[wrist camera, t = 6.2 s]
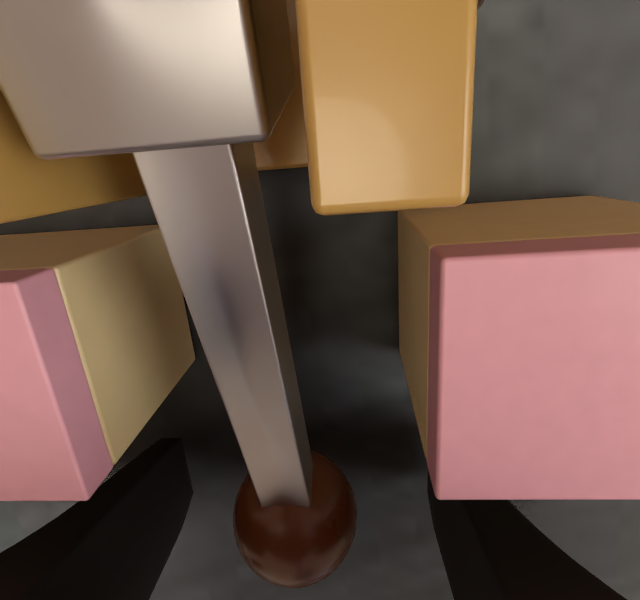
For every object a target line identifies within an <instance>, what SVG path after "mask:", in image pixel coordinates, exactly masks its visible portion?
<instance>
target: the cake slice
mask: <svg viewBox="0 0 640 600" xmlns="http://www.w3.org/2000/svg"><path fill="white" fill-rule="evenodd" d="M398 287H399V352H400V356H401V360H402V364H403V368H404V372H405V376H406V381H407V385H408V389H409V393H410V397H411V401H412V405H413V409H414V413H415V417H416V421H417V425H418V429H419V433H420V437H421V442H422V446H423V450H424V454H425V458H426V460H427V466H428V470H429V474H430V478H431V482H432V486H433V490H434V494H435V496H436V498H437V499H439V500H577V499H640V203H635V202H629V201H623V200H617V199H611V198H605V197H599V196H593V195H590V196H576V197H561V198H546V199H531V200H516V201H501V202H486V203H471V204H461V205H459V206H457V207H446V208H431V209H416V210H401V211H398Z"/></svg>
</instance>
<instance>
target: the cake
mask: <svg viewBox="0 0 640 600" xmlns="http://www.w3.org/2000/svg"><path fill="white" fill-rule="evenodd" d="M194 360H195V354H194V349H193V344H192V339H191V334H190V328H189V323H188V318H187V313H186V308H185V303H184V298H183V293H182V289H181V286H180V283H179V281H178V278H177V275H176V272H175V270H174V267H173V264H172V261H171V259H170V256H169V253H168V250H167V248H166V245H165V242H164V240H163V237H162V234H161V231H160V229H159V226H158V225H145V226H131V227H116V228H101V229H86V230H71V231H56V232H41V233H27V234H12V235H0V501H86V500H89V499H90V497H91V496H92V495H93V494H94V492H95V491H96V490H97V488H98V487H99V486H100V484H101V483H102V482H103V480H104V479H105V478H106V476H107V475H108V474H109V473H110V471H111V470H112V468H113V465H114V464H116V463H117V461H118V460H119V459H120V457H121V456H122V455H123V453H124V452H125V451H126V450H127V448H128V447H129V446H130V444H131V443H132V442H133V440H134V439H135V438H136V436H137V435H138V434H139V433H140V431H141V430H142V429H143V427H144V426H145V425H146V423H147V422H148V421H149V419H150V418H151V417H152V415H153V414H154V413H155V412H156V410H157V409H158V408H159V406H160V405H161V404H162V402H163V401H164V400H165V398H166V397H167V396H168V395H169V393H170V392H171V391H172V389H173V388H174V387H175V385H176V384H177V383H178V381H179V380H180V379H181V378H182V376H183V375H184V374H185V372H186V371H187V370H188V368H189V367H190V366H191V364H192V363H193V362H194Z"/></svg>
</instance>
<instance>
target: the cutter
mask: <svg viewBox="0 0 640 600" xmlns="http://www.w3.org/2000/svg"><path fill="white" fill-rule="evenodd" d="M294 87H295V76H294V67H293V58H292V50H291V41H290V33H289V24H288V16H287V7H286V0H0V90H1V92H2V94H3V96H4V98H5V100H6V102H7V103H8V105H9V107H10V109H11V111H12V113H13V115H14V117H15V119H16V121H17V123H18V125H19V127H20V129H21V131H22V133H23V135H24V137H25V139H26V141H27V143H28V145H29V147H30V149H31V151H32V152H33V154H34V155H35V156H36V157H37V158H40V159H46V160H52V159H64V158H76V157H87V156H99V155H111V154H123V153H132V155H133V157H134V160H135V163H136V166H137V168H138V171H139V174H140V177H141V179H142V182H143V185H144V188H145V190H146V193H147V196H148V199H149V201H150V204H151V207H152V209H153V212H154V215H155V218H156V220H157V223H158V226H159V229H160V231H161V234H162V237H163V240H164V242H165V245H166V248H167V250H168V253H169V256H170V259H171V261H172V264H173V267H174V270H175V272H176V275H177V278H178V281H179V283H180V286H181V289H182V291H183V294H184V297H185V300H186V302H187V305H188V308H189V311H190V313H191V316H192V319H193V322H194V324H195V327H196V330H197V333H198V335H199V338H200V341H201V343H202V346H203V349H204V352H205V354H206V357H207V360H208V363H209V365H210V368H211V371H212V374H213V376H214V379H215V382H216V384H217V387H218V390H219V393H220V395H221V398H222V401H223V404H224V406H225V409H226V412H227V415H228V417H229V420H230V423H231V426H232V428H233V431H234V434H235V436H236V439H237V442H238V445H239V447H240V450H241V453H242V456H243V458H244V461H245V464H246V467H247V469H248V472H249V474H248V475H247V476H246V478H245V479H244V481H243V483H242V485H241V487H240V489H239V491H238V494H237V497H236V501H235V505H234V512H233V528H234V535H235V539H236V543H237V546H238V548H239V551H240V553H241V555H242V557H243V559H244V560H245V562H246V563H247V565H248V566H249V567H250V568H251V569H252V570H253V572H255V573H256V574H257V575H258V576H259V577H261V578H262V579H264V580H265V581H267V582H269V583H271V584H274V585H277V586H280V587H285V588H301V587H307V586H310V585H312V584H315V583H318V582H320V581H321V580H323V579H325V578H326V577H328V576H329V575H330V574H331V573H332V572H333V571H335V570H336V569H337V567H338V566H339V565H340V564H341V563H342V561H343V560H344V558H345V557H346V555H347V553H348V551H349V549H350V547H351V544H352V542H353V538H354V535H355V530H356V520H357V511H356V503H355V498H354V494H353V491H352V488H351V486H350V484H349V482H348V480H347V478H346V476H345V475H344V474H343V472H342V471H341V470H340V468H339V467H338V466H337V465H336V464H335V463H334V462H333V461H331V460H330V459H329V458H327V457H325V456H324V455H322V454H320V453H318V452H315V451H312V450H310V447H309V441H308V436H307V431H306V425H305V420H304V415H303V409H302V404H301V399H300V393H299V388H298V383H297V377H296V372H295V367H294V361H293V356H292V351H291V345H290V340H289V335H288V329H287V324H286V319H285V313H284V308H283V303H282V298H281V292H280V287H279V282H278V276H277V271H276V266H275V260H274V255H273V250H272V244H271V239H270V234H269V228H268V223H267V218H266V212H265V207H264V202H263V196H262V191H261V186H260V180H259V175H258V170H257V164H256V159H255V154H254V148H253V143H252V142H263V141H265V140H266V139H268V138H270V136H271V134H272V132H273V130H274V128H275V126H276V124H277V122H278V120H279V118H280V116H281V114H282V112H283V110H284V108H285V106H286V104H287V102H288V100H289V98H290V96H291V94H292V92H293V90H294Z"/></svg>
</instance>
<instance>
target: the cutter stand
mask: <svg viewBox="0 0 640 600" xmlns="http://www.w3.org/2000/svg"><path fill="white" fill-rule="evenodd" d="M483 2H484V0H286V7H287V16H288V24H289V33H290V41H291V50H292V58H293V67H294V76H295V87H294V90H293V92H292V94H291V96H290V98H289V100H288V102H287V104H286V106H285V108H284V110H283V112H282V114H281V116H280V118H279V120H278V122H277V124H276V126H275V128H274V130H273V132H272V134H271V136H270V138H268V139H266V140H265V141H263V142H252V143H253V148H254V154H255V159H256V164H257V170H258V171H261V170H274V169H286V168H299V167H308V171H309V183H310V196H311V205H312V207H313V209H314V211H315V213H318V214H321V215H324V216H326V215H341V214H356V213H371V212H386V211H401V210H416V209H431V208H446V207H457V206H459V205H461V204H463V203H465V202H466V199H467V197H468V195H469V187H470V164H471V141H472V118H473V96H474V73H475V50H476V27H477V10H478V9H479V8H480V7H481V5H482V4H483ZM145 195H147V193H146V190H145V188H144V185H143V182H142V179H141V177H140V174H139V171H138V168H137V166H136V163H135V160H134V157H133V155H132V153H123V154H111V155H99V156H87V157H76V158H64V159H52V160H46V159H40V158H37V157H36V156H35V155H34V154H33V152H32V151H31V149H30V147H29V145H28V143H27V141H26V139H25V137H24V135H23V133H22V131H21V129H20V127H19V125H18V123H17V121H16V119H15V117H14V115H13V113H12V111H11V109H10V107H9V105H8V103H7V102H6V100H5V98H4V96H3V94H2V92H1V90H0V224H2V223H7V222H12V221H17V220H22V219H28V218H33V217H38V216H43V215H48V214H53V213H58V212H63V211H69V210H74V209H79V208H84V207H89V206H94V205H99V204H104V203H110V202H115V201H120V200H125V199H130V198H135V197H140V196H145Z"/></svg>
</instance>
